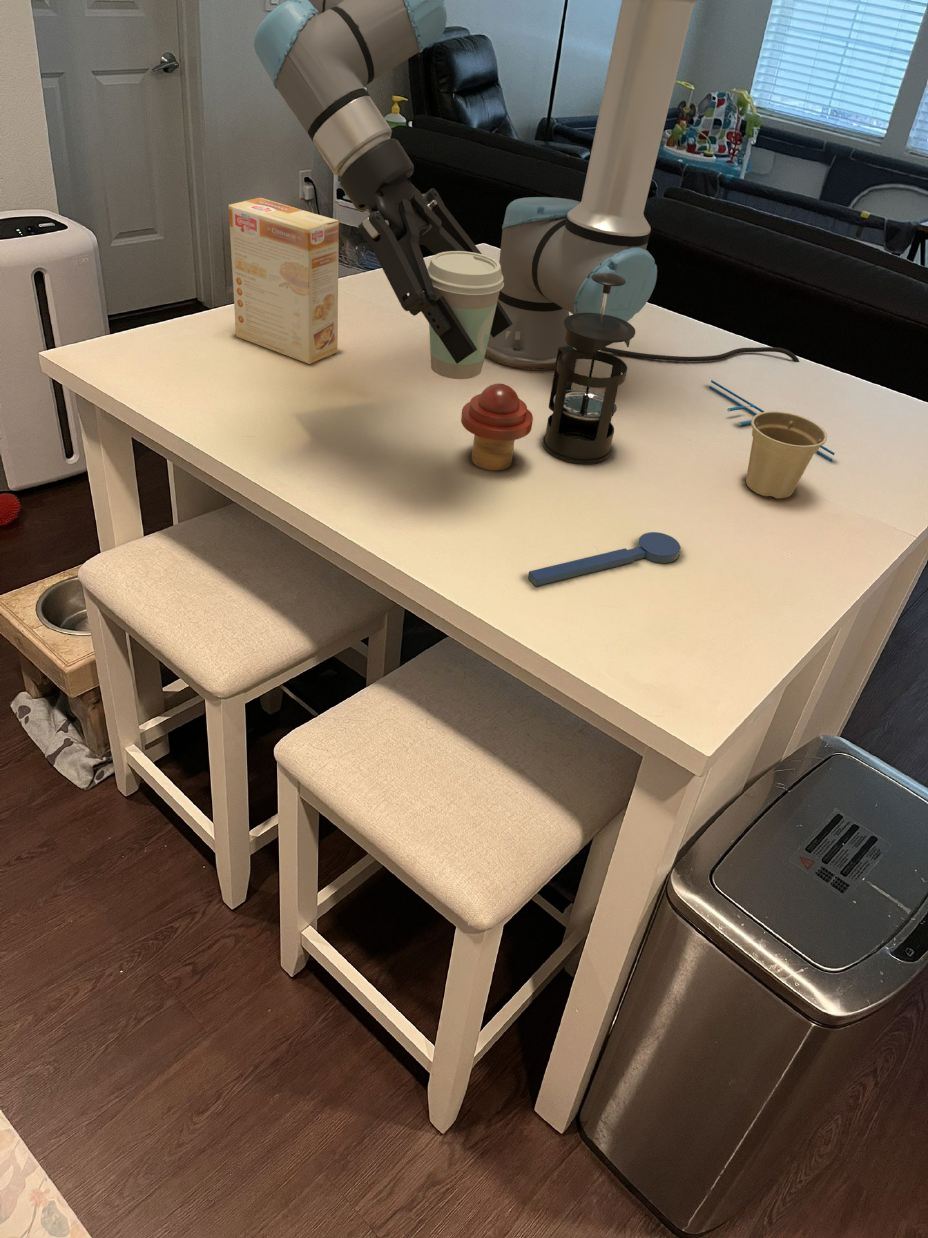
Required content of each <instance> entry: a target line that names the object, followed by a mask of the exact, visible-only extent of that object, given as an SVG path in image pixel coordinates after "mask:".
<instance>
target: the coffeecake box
mask: <svg viewBox="0 0 928 1238" xmlns="http://www.w3.org/2000/svg"><path fill="white" fill-rule="evenodd" d="M228 218H229V219H228V220H229V222H228V223H229V238H230V239H229V240H230V241H229V242H230V255H231V258H230V259H231V270H232V273H231V274H232V287H233V288H232V290H233V291H232V292H233V308H234V324H235V325H234V326H235V337H236V338H239V339H242V340H244V341H248V342H250V343H253V344H255V345H257V346H260V347H263V348H265V349H268V350H271V351H274V352H277V353H279V354H282V355H284V356H287V357H289V358H292V359H294V360H297V361H300V362H303V363H305V364H308V365H311V364H313V363H316V362H317V361H320V360H322V359H325V358H327V357H330V356H332V355H335V354H336V353H338V352H339V350H338V348H339V347H338V339H339V335H338V334H339V333H338V331H339V250H340V249H339V248H340V247H339V246H340V245H339V243H340V239H339V237H340V220H338V219H335V218H331V217H328V216H326V215H325V216H324V215H321V214H317V213H315V212H311V211H307V210H303V209H300V208H298V207H293V206H290V205H286V204H283V203H280V202H276V201H273V200H269V199H266V198H263V197H256V198H251V199H246V200H243V201H238V202H235V203H230V204H228Z"/></svg>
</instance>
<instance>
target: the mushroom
mask: <svg viewBox="0 0 928 1238" xmlns="http://www.w3.org/2000/svg"><path fill="white" fill-rule="evenodd" d="M460 416H461V417H460V422H461V425H462V426H463V428H464V429H465V430H466V431H467V432H469V433H470V434H472V435H474V436H473V442H472V443H473V444H472V453H471V461H472V462H473V464H475V466H477V467H479V468H481V469H485V470H489V471H501V470H505V469H507V468H509V467H511V465H512V461H513V455H514V447H515V440H520V439H522V438H525V437H526V436H528V435H529V434H530V433H531V431H532V427H533V421H534V416H533V414H532V412H531V411H530V410H529V409H528V406H527V404H526V402H525V401H523V400H522V399H520V398H519V395H518V394H517V392H516V391H515V389H513V388H512V387H511V386H510V385H507V384H505V383H493V384H489V386H487V387H485V388H484V389H483V390H482V391H481V393H479V394H476V395H474V396H472V397H471V399H470V401H469V402H467V403H466V404H464V405H463V407H462V408H461V415H460Z"/></svg>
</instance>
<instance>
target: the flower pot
mask: <svg viewBox="0 0 928 1238" xmlns="http://www.w3.org/2000/svg"><path fill="white" fill-rule="evenodd" d="M756 414H757V415H753V417H752V418H751V419H750V420H751V424H750V425H751V428H752V430H751V436H752V440H751V447H750V453H749V459H748V464H747V465H748V466H747V471H746V476H745V482H746V486H747V488H749V490H751V491H752V492H754V493H756V494H757V495H760V496H762V497H773V498H774V499H785V498H788V497H790V496H791V495H793V493H794V491H795V489H796V488H797V486H798V483H799V482H800V480H801V478H802V476H803V474H804V473H805V471H806V470H807V467H808V466H809V464H810V462H811V460H812V458H813V456H814V455H815V454H816V452H817V451H819V449H820V446H824V445H825V443H826V442H827V441H828V433H827V431H826V430H825V429H824V428H823V427H822V426H821V425H819V424H818V423H816V422H814V421H813V420H811V419H809V418H806V417H804V416H802V415H798V414H795V413H791V412H787V411H786V412H785V411H780V410H779V411H778V410H775V411H774V410H768V411H765V412H759V413H756Z"/></svg>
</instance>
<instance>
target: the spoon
mask: <svg viewBox="0 0 928 1238" xmlns="http://www.w3.org/2000/svg"><path fill="white" fill-rule="evenodd" d="M680 551H681V545H680V542H679V541H678V540H677V539H676V538H675V537H673V536H671V535H668V534H666V533H663V532H659V531H657V532H656V531H650V532H649V531H648V532H645V533H643V534H642V535H641V536H639V539H638V542H637V546H636V547H633V548H630V549H627V548H626V547H625V548H621V549H616V550H613V551H608V552H605V553H600V554H596V555H592V556H588V557H583V558H578V559H575V560H570V561H566V562H563V563H562V562H561V563H558V564H554V565H550V566H545V567H542V568H537V569H533V570H529V571H528V575H527V579H528V580H529V581H530V582H531V583H532V584H533V586H535V587H538V586H543V585H548V584H551V583H555V582H559V581H563V580H566V579H572V578H575V577H579V576H583V575H588V574H591V573H595V572H599V571H602V570H608V569H612V568H615V567H619V566H623V565H627V564H630V563H633V562H634V561H638V560H642V559H646V560H648V561H651V562H653V563H658V564H659V563H660V564H668V563H673V562H674V561H676V560H677V559H678V558H679V555H680V553H681V552H680Z"/></svg>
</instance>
